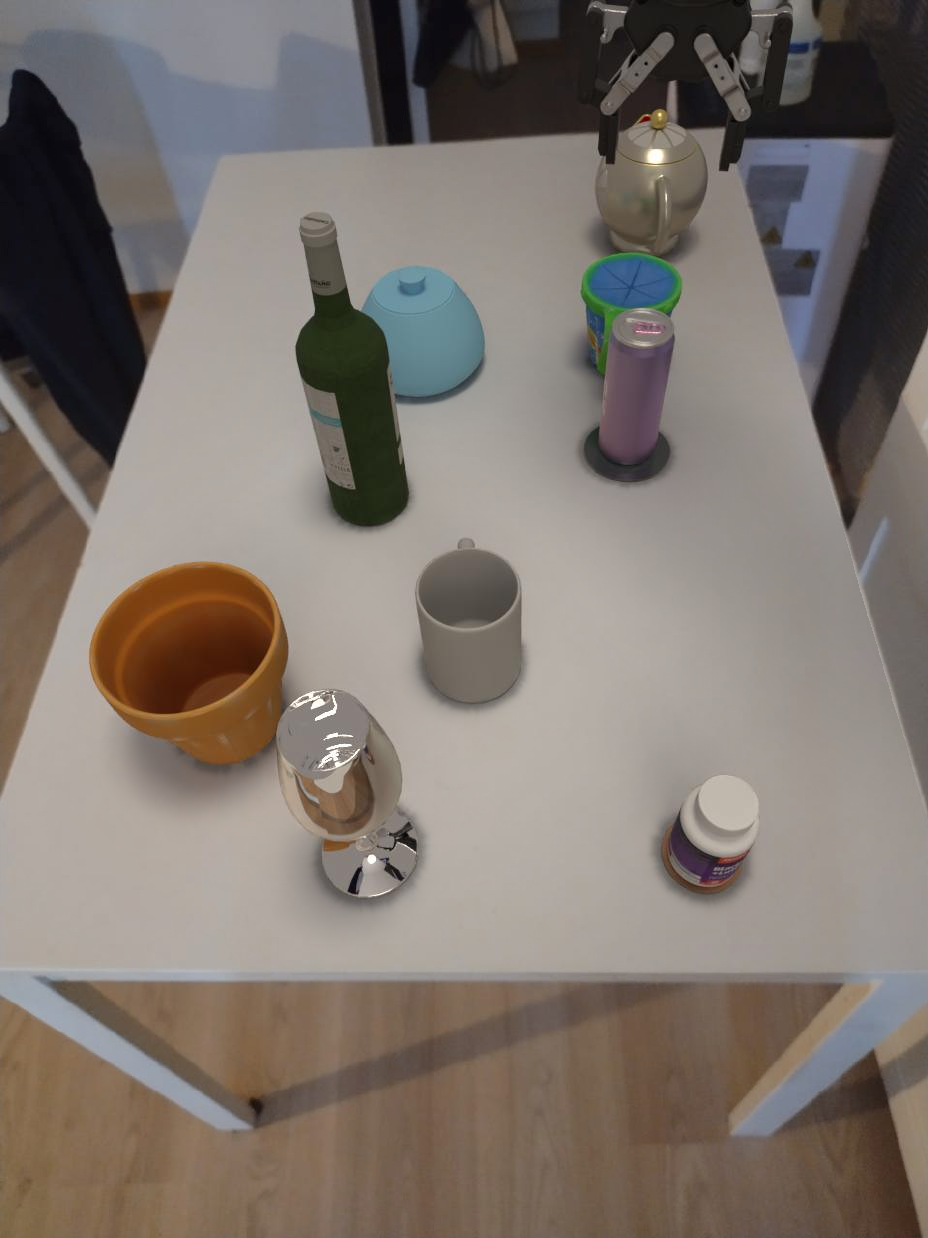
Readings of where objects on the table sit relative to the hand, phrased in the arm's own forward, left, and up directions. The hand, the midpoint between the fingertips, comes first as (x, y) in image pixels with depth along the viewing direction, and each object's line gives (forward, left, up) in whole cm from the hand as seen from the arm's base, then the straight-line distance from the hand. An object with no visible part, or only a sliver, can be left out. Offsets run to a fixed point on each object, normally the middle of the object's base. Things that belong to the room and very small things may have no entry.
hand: (667, 162), depth 66 cm
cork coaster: (-10, +42, -30) cm, 53 cm away
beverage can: (0, 0, -30) cm, 30 cm away
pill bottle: (-10, +42, -30) cm, 53 cm away
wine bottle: (+25, +11, -30) cm, 41 cm away
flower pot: (+30, +38, -30) cm, 57 cm away
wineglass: (+15, +47, -30) cm, 58 cm away
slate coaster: (0, 0, -30) cm, 30 cm away
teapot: (+1, -38, -30) cm, 48 cm away
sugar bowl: (+25, -11, -30) cm, 41 cm away
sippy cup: (+2, -15, -30) cm, 34 cm away
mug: (+11, +27, -30) cm, 42 cm away
